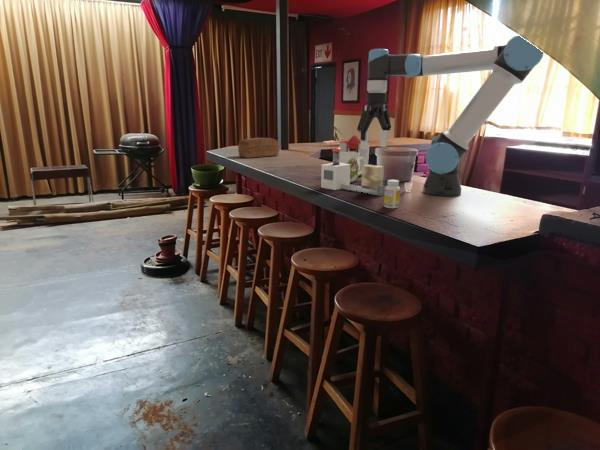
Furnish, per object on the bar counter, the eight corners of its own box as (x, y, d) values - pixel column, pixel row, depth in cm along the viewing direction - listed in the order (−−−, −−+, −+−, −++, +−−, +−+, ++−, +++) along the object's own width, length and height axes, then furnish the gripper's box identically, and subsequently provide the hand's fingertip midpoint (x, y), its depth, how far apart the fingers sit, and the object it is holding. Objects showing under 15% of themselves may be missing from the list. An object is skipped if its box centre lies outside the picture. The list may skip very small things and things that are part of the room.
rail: (384, 194, 176) (384, 186, 175) (379, 196, 173) (379, 187, 172) (345, 187, 189) (345, 179, 188) (340, 189, 186) (340, 180, 185)
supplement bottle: (386, 208, 153) (387, 182, 151) (382, 205, 158) (383, 179, 156) (401, 208, 154) (402, 181, 151) (396, 204, 159) (398, 179, 156)
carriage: (382, 188, 177) (383, 166, 174) (375, 190, 173) (376, 167, 170) (368, 186, 181) (369, 164, 179) (361, 187, 177) (362, 165, 175)
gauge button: (341, 164, 187) (342, 148, 185) (336, 165, 185) (337, 148, 183) (335, 164, 190) (335, 147, 188) (330, 164, 187) (330, 148, 185)
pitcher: (371, 181, 204) (373, 152, 200) (337, 184, 197) (338, 153, 193) (360, 177, 213) (361, 149, 210) (327, 180, 207) (328, 151, 203)
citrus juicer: (335, 176, 215) (336, 136, 210) (340, 171, 232) (341, 133, 226) (366, 178, 212) (368, 136, 206) (369, 172, 228) (371, 134, 222)
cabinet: (349, 186, 191) (350, 164, 188) (335, 190, 184) (335, 166, 181) (335, 184, 196) (335, 162, 193) (320, 187, 189) (321, 164, 186)
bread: (235, 157, 288) (234, 138, 284) (270, 154, 304) (270, 136, 300) (246, 159, 277) (245, 139, 274) (282, 156, 293) (282, 137, 290)
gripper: (385, 92, 178) (382, 144, 184) (349, 91, 160) (347, 149, 166) (402, 92, 173) (398, 146, 179) (365, 91, 155) (363, 151, 161)
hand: (373, 147), depth 173 cm, fingers open, 13 cm apart
